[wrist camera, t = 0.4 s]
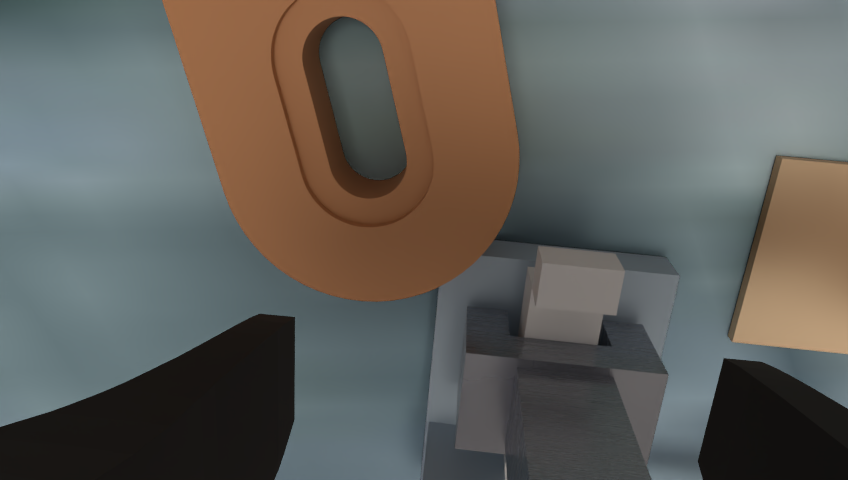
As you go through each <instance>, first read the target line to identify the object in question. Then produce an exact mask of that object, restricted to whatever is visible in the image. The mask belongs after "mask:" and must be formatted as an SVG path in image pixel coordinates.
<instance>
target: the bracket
mask: <svg viewBox="0 0 848 480" xmlns="http://www.w3.org/2000/svg"><path fill="white" fill-rule="evenodd" d="M162 1H163V4H164V7H165V10H166V14H167V17H168V20H169V23H170V26H171V29H172V32H173V35H174V38H175V42H176V45H177V48H178V51H179V54H180V57H181V60H182V63H183V66H184V69H185V73H186V76H187V79H188V82H189V85H190V88H191V91H192V94H193V97H194V100H195V104H196V107H197V110H198V113H199V116H200V119H201V122H202V125H203V128H204V132H205V135H206V138H207V141H208V144H209V147H210V150H211V153H212V156H213V159H214V163H215V166H216V169H217V172H218V175H219V178H220V181H221V184H222V187H223V190H224V193H225V196H226V199H227V201H228V204H229V206H230V208H231V210H232V212H233V214H234V216H235V218H236V220H237V222H238V224H239V225H240V227H241V228H242V230H243V231H244V233H245V234H246V236H247V237H248V238H249V240H250V241H251V242H252V243H253V245H254V246H255V247H256V248H257V249H258V250H259V251H260V252H261V253H262V254H263V255H264V257H265V258H267V259H268V260H269V261H270V262H271V263H272V264H274V265H275V266H276V267H277V268H278V269H280V270H281V271H283V272H284V273H285V274H287V275H288V276H290V277H291V278H293V279H295V280H297V281H298V282H300V283H302V284H304V285H306V286H308V287H310V288H313V289H315V290H317V291H320V292H323V293H326V294H329V295H332V296H336V297H340V298H344V299H350V300H358V301H376V302H378V301H393V300H398V299H404V298H409V297H413V296H416V295H420V294H423V293H426V292H428V291H431V290H433V289H436V288H438V287H440V286H442V285H443V284H445V283H447V282H449V281H451V280H452V279H454V278H455V277H457V276H458V275H460V274H461V273H463V272H464V271H465V270H466V269H468V268H469V267H470V266H471V265H472V264H474V263H475V262H476V261H477V260H478V259H479V257H480V256H481V255H482V254H483V253H484V252H485V251H486V250H487V249H488V247H489V246H490V245H491V243H492V242H493V241H494V239H495V238H496V236H497V234H498V233H499V231H500V230H501V228H502V226H503V224H504V222H505V220H506V218H507V216H508V214H509V211H510V208H511V205H512V202H513V199H514V196H515V191H516V187H517V182H518V174H519V142H518V133H517V127H516V121H515V115H514V109H513V104H512V98H511V92H510V86H509V80H508V74H507V68H506V62H505V56H504V50H503V44H502V38H501V32H500V26H499V20H498V14H497V8H496V2H495V0H162ZM344 16H345V17H351V18H354V19H357V20H359V21H361V22H363V23H364V24H366V25H367V26H368V27H369V28H370V29H371V30H372V31H373V32H374V33H375V34H376V36H377V37H378V39H379V41H380V43H381V46H382V49H383V53H384V58H385V62H386V67H387V71H388V75H389V80H390V84H391V89H392V93H393V98H394V102H395V107H396V111H397V115H398V120H399V124H400V129H401V133H402V138H403V142H404V147H405V151H406V156H407V166H406V168H405V169H404V170H403V171H402V172H401V173H399V174H398V175H396V176H395V177H392V178H390V179H386V180H372V179H368V178H365V177H363V176H361V175H359V174H358V173H356V172H355V171H354V170H353V169H352V168H351V167H350V165H349V164H348V162H347V161H346V159H345V156H344V153H343V149H342V145H341V142H340V138H339V134H338V130H337V126H336V122H335V118H334V114H333V110H332V106H331V103H330V99H329V95H328V91H327V87H326V83H325V79H324V75H323V71H322V67H321V64H320V59H319V45H320V41H321V38H322V35H323V33H324V32H325V30H326V29H327V28H328V26H329V25H330V24H332V23H333V22H334V21H336V20H337V19H339V18H341V17H344Z"/></svg>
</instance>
